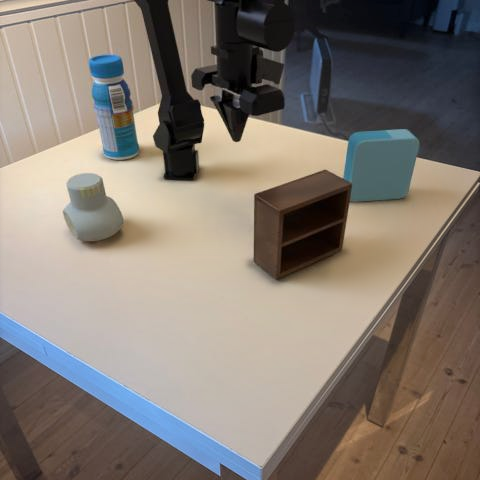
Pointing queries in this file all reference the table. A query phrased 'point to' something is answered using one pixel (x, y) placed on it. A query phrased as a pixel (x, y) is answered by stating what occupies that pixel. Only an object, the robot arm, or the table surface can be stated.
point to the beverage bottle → (113, 107)
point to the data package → (380, 164)
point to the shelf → (300, 222)
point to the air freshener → (91, 209)
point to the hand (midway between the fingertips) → (236, 141)
